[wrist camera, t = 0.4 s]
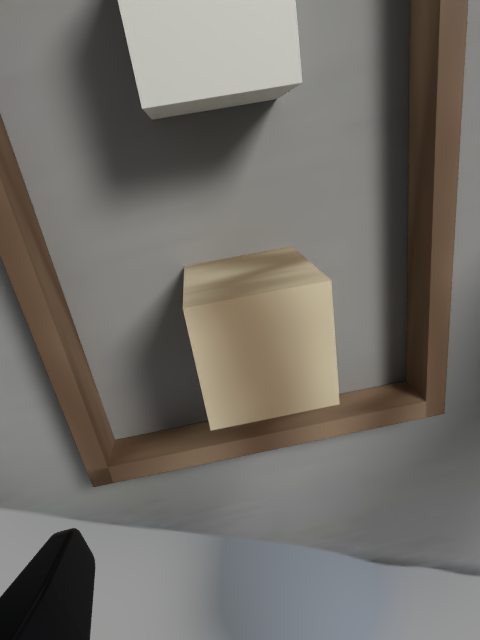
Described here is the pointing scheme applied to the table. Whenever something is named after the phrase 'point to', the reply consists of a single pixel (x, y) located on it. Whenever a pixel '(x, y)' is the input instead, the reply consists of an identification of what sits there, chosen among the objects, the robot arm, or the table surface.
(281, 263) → the labelled birch box
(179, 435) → the walnut tray
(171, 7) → the plain short box
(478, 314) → the table surface
